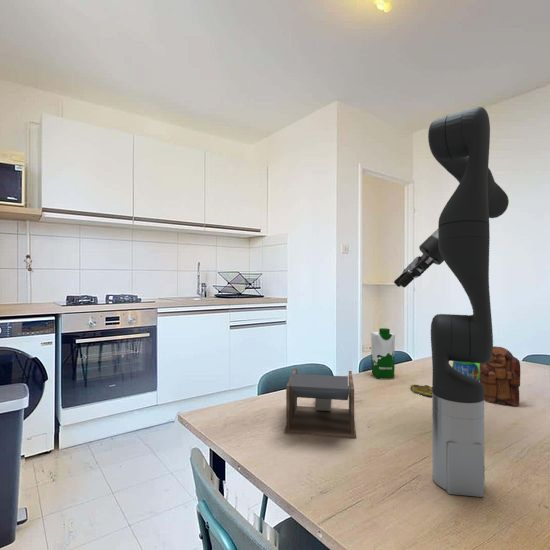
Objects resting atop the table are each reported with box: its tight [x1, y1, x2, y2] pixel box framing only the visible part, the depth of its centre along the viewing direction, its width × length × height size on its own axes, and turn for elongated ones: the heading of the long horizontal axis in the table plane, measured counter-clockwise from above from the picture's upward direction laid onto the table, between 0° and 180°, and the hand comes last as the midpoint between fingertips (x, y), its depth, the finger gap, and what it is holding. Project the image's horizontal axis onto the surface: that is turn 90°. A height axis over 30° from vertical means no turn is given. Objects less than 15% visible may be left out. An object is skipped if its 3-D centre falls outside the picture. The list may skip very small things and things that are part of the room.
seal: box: [410, 384, 432, 399], centre depth 128 cm, size 9×5×15 cm
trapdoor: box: [290, 373, 349, 401], centre depth 98 cm, size 22×15×3 cm
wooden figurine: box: [479, 345, 521, 407], centre depth 119 cm, size 12×6×18 cm, turn 52°
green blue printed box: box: [451, 361, 481, 382], centre depth 139 cm, size 16×10×10 cm
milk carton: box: [370, 327, 396, 380], centre depth 149 cm, size 9×9×20 cm
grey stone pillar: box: [314, 398, 333, 411], centre depth 113 cm, size 5×5×12 cm
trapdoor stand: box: [284, 367, 357, 439], centre depth 102 cm, size 18×18×12 cm
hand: (398, 285), depth 102 cm, fingers open, 8 cm apart
